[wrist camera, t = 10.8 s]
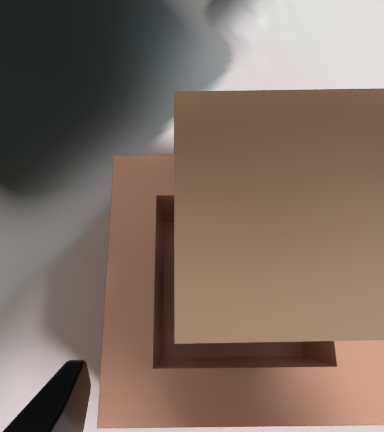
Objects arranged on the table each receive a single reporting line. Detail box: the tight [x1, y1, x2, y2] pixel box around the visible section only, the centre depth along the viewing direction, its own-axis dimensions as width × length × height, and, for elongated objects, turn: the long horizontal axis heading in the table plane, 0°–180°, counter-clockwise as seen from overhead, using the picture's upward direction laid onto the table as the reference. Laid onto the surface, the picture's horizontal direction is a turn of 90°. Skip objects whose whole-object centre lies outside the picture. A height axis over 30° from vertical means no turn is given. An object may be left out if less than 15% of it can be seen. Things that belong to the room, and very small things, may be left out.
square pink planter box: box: [97, 155, 384, 428], centre depth 14 cm, size 10×10×6 cm
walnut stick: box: [174, 89, 384, 344], centre depth 11 cm, size 4×4×12 cm
